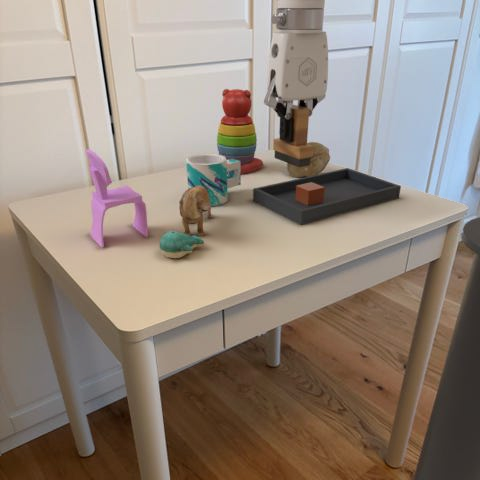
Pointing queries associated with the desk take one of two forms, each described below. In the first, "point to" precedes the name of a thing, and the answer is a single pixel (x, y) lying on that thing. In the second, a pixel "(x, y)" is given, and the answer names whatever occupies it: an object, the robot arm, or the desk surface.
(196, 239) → the whale figurine
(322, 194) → the reddish brown block
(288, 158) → the brush
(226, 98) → the stacking bear
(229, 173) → the mug
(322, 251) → the desk surface
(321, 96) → the robot arm
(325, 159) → the fossil
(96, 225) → the toy chair
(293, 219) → the tray
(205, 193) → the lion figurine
